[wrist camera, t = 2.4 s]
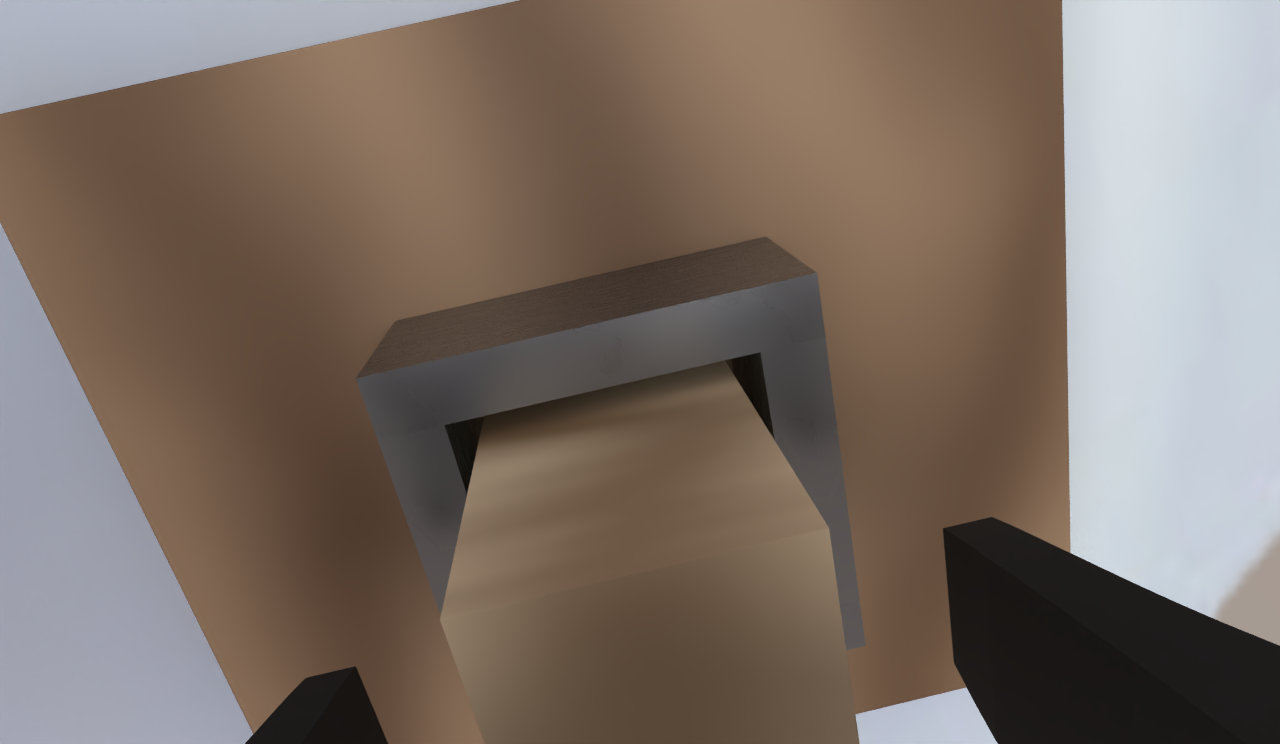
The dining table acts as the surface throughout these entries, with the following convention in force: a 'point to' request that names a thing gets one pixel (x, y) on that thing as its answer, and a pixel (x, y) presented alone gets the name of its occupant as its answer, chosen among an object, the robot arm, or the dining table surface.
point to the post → (646, 575)
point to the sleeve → (609, 377)
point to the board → (546, 255)
